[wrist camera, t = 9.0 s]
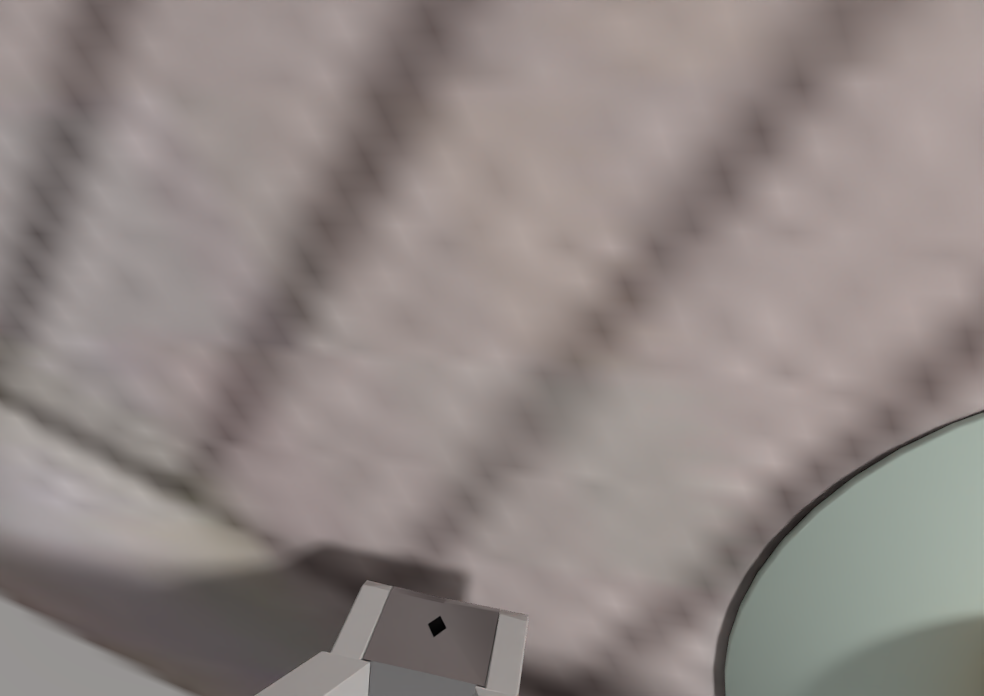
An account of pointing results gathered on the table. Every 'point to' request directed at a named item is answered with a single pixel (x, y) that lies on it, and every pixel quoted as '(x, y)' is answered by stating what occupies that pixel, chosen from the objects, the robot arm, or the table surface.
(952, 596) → the disc
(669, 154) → the table surface
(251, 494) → the table surface
